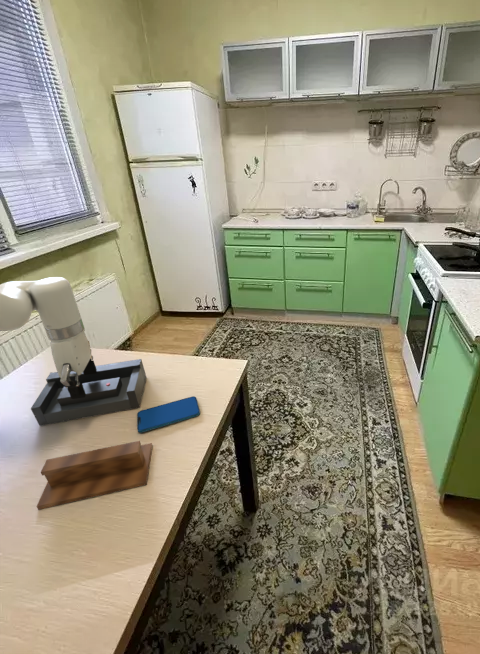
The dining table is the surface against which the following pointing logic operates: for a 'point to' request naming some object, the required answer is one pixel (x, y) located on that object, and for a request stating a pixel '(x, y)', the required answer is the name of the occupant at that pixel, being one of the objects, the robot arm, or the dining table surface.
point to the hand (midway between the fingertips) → (85, 385)
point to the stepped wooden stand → (95, 473)
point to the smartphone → (167, 414)
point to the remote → (93, 391)
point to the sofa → (128, 398)
